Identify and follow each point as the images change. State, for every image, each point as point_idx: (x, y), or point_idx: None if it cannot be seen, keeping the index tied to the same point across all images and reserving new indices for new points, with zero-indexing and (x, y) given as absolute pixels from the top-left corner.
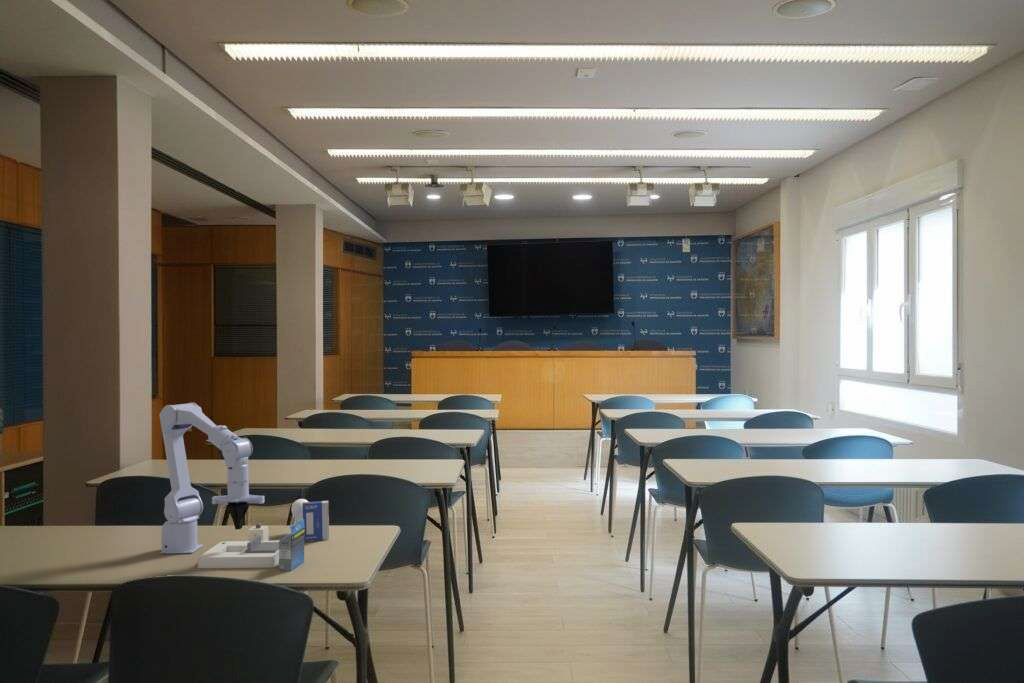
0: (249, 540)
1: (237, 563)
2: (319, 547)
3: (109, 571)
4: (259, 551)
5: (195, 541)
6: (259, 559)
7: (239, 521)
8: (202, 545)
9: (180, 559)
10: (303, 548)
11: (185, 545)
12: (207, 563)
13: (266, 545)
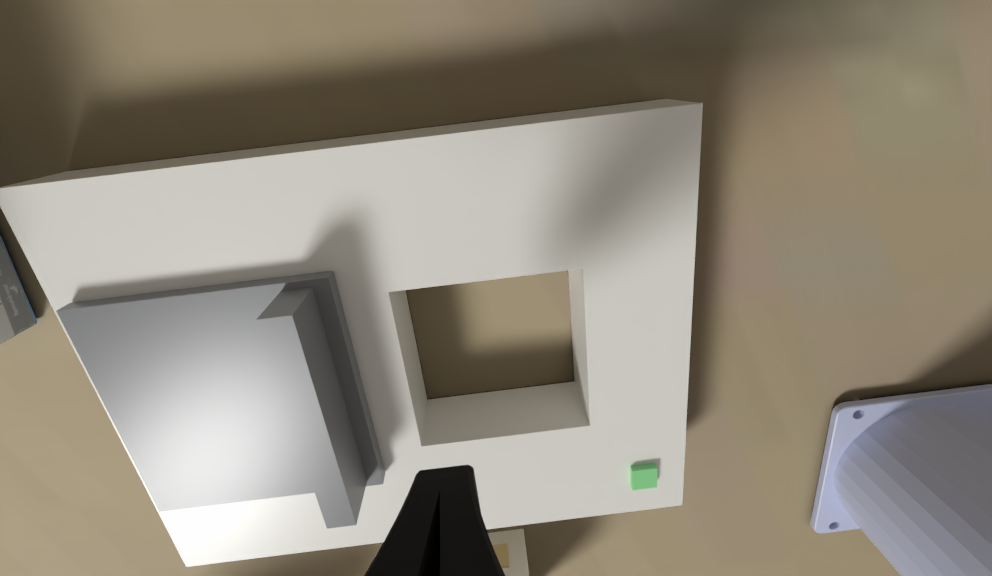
0: (522, 568)
1: (342, 141)
2: (88, 571)
3: None
4: (201, 289)
5: (868, 500)
6: (136, 170)
7: (391, 541)
8: (813, 520)
9: (870, 292)
10: None
11: (914, 441)
12: (596, 109)
13: (240, 423)
